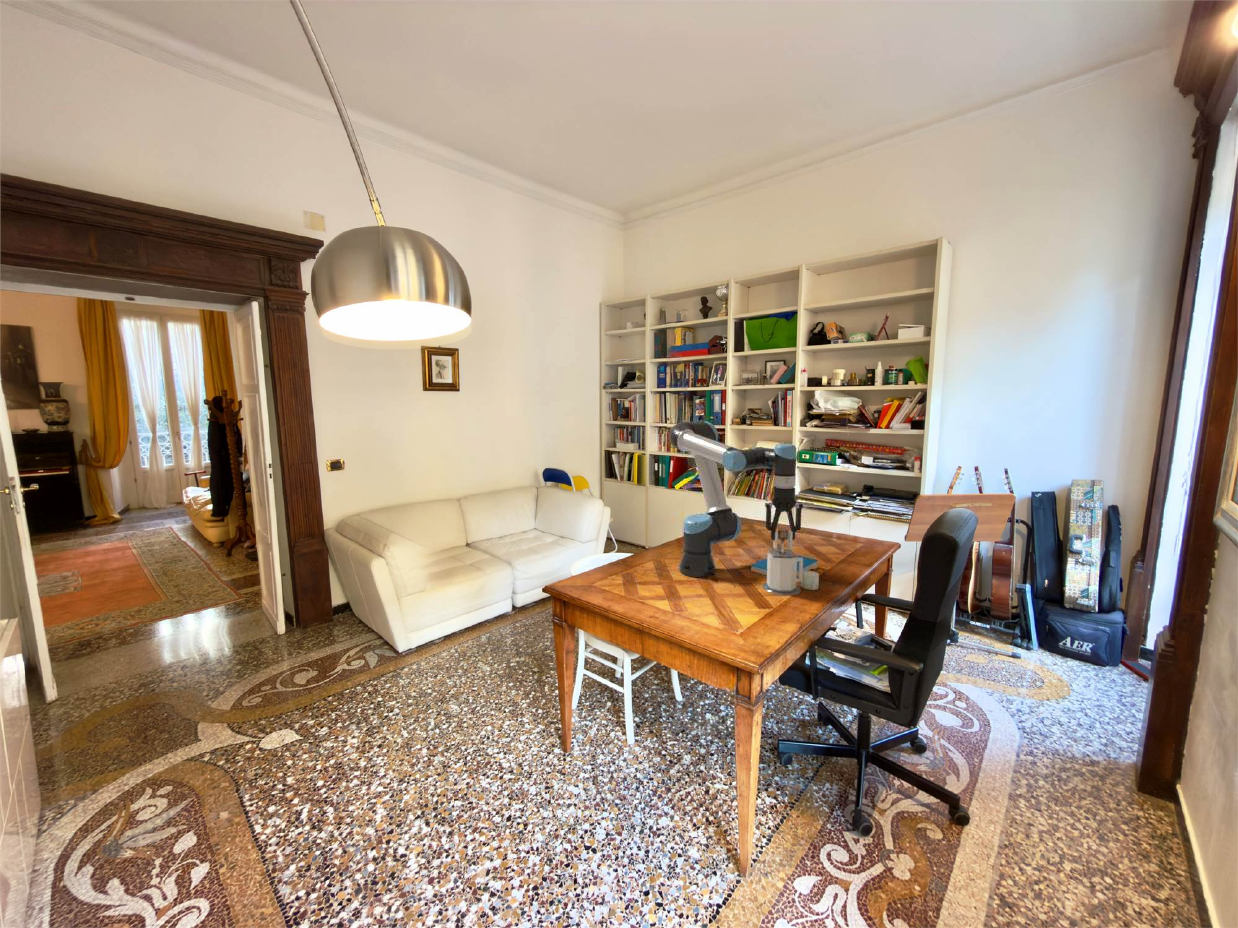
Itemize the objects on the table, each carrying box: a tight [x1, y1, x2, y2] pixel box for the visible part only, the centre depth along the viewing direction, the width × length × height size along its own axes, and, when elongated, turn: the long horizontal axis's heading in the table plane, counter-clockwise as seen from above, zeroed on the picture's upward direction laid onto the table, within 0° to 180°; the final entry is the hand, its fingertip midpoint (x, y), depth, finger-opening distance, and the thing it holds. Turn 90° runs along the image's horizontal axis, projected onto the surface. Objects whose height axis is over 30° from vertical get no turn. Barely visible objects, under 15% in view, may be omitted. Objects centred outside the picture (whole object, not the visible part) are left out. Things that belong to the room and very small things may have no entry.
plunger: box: [777, 528, 789, 554], centre depth 179 cm, size 4×4×16 cm
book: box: [749, 554, 819, 577], centre depth 201 cm, size 17×4×25 cm
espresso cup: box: [800, 570, 820, 591], centre depth 181 cm, size 7×6×6 cm
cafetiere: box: [766, 548, 803, 593], centre depth 180 cm, size 10×13×14 cm
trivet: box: [761, 581, 802, 596], centre depth 181 cm, size 14×14×1 cm
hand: (782, 547), depth 179 cm, fingers open, 5 cm apart
